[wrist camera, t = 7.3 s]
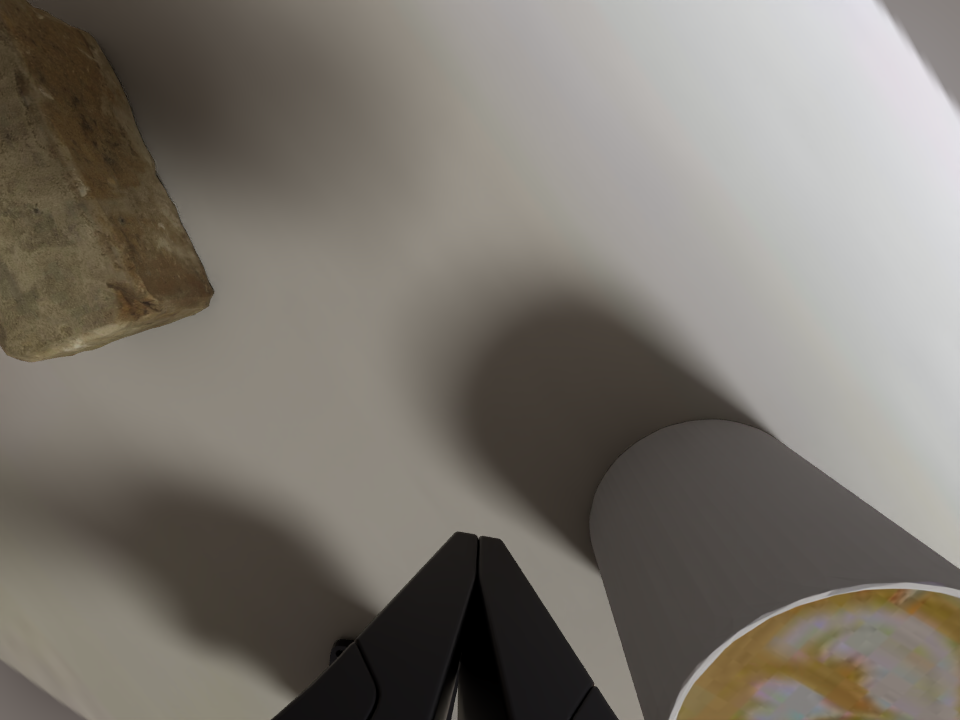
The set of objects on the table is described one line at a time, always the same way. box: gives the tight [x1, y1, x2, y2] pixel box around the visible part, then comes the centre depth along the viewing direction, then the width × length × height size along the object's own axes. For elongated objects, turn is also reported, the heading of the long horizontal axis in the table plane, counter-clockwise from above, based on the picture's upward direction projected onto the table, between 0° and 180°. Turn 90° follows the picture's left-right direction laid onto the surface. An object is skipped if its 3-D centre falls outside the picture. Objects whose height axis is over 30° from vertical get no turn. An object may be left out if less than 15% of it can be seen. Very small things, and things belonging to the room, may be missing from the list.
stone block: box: [0, 0, 214, 362], centre depth 17 cm, size 6×12×5 cm, turn 20°
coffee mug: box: [589, 419, 960, 720], centre depth 17 cm, size 13×10×10 cm
